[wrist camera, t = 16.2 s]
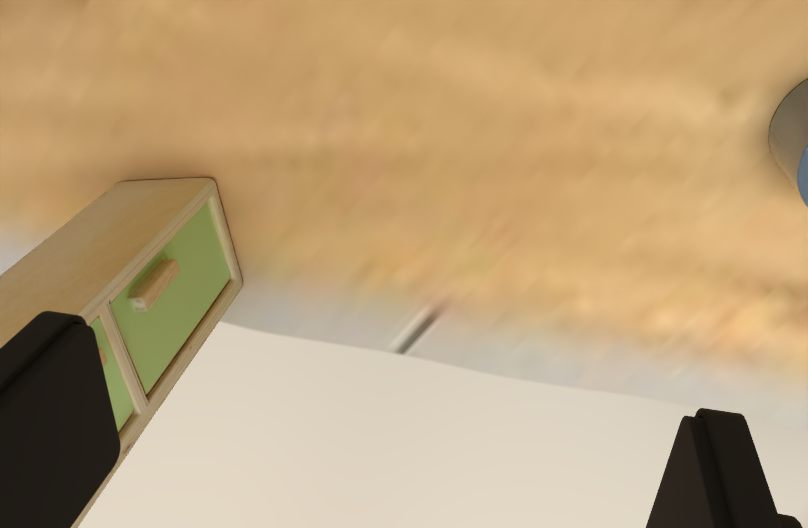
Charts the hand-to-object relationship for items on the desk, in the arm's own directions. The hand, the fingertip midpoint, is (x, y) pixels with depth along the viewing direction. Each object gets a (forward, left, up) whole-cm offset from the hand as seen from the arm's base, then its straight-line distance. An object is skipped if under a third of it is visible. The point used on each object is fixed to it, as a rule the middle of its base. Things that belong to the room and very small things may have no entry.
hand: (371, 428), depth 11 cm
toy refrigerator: (-18, -14, -28) cm, 36 cm away
